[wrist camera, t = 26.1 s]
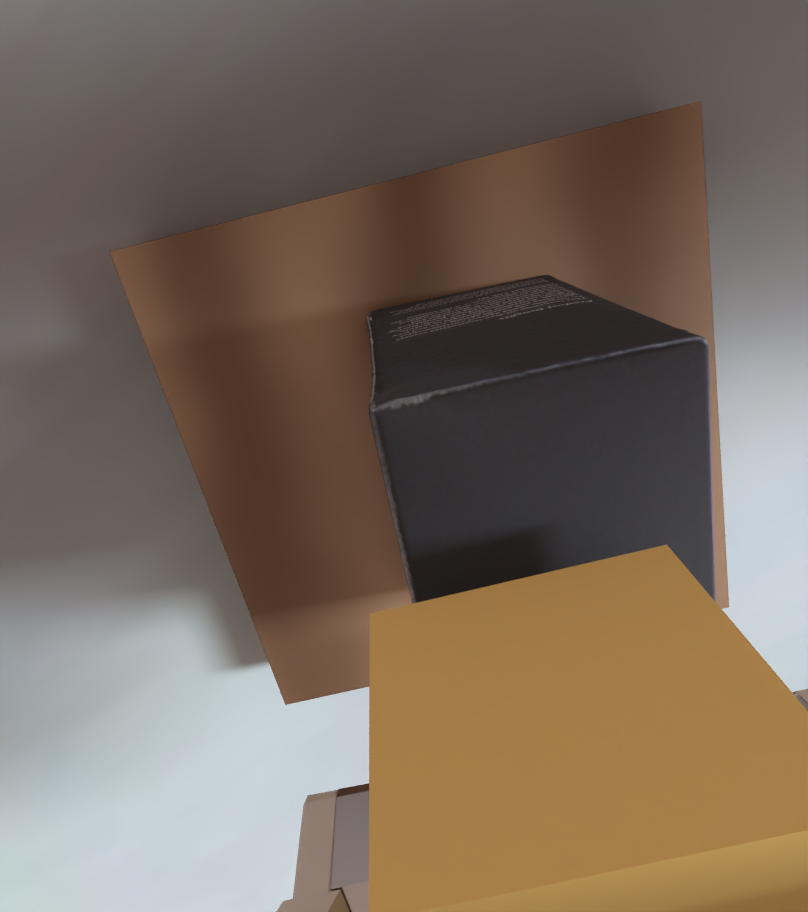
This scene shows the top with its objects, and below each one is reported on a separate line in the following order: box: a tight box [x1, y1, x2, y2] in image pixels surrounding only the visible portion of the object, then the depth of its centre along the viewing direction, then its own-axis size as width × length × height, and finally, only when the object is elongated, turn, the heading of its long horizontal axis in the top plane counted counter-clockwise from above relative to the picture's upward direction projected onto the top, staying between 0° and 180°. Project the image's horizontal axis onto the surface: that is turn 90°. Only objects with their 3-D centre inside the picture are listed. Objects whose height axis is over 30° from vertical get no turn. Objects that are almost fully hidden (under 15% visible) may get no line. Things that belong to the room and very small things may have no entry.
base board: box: [110, 101, 729, 705], centre depth 24 cm, size 18×18×3 cm
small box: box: [366, 275, 716, 604], centre depth 18 cm, size 11×6×10 cm, turn 12°
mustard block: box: [369, 545, 808, 912], centre depth 9 cm, size 5×5×5 cm
